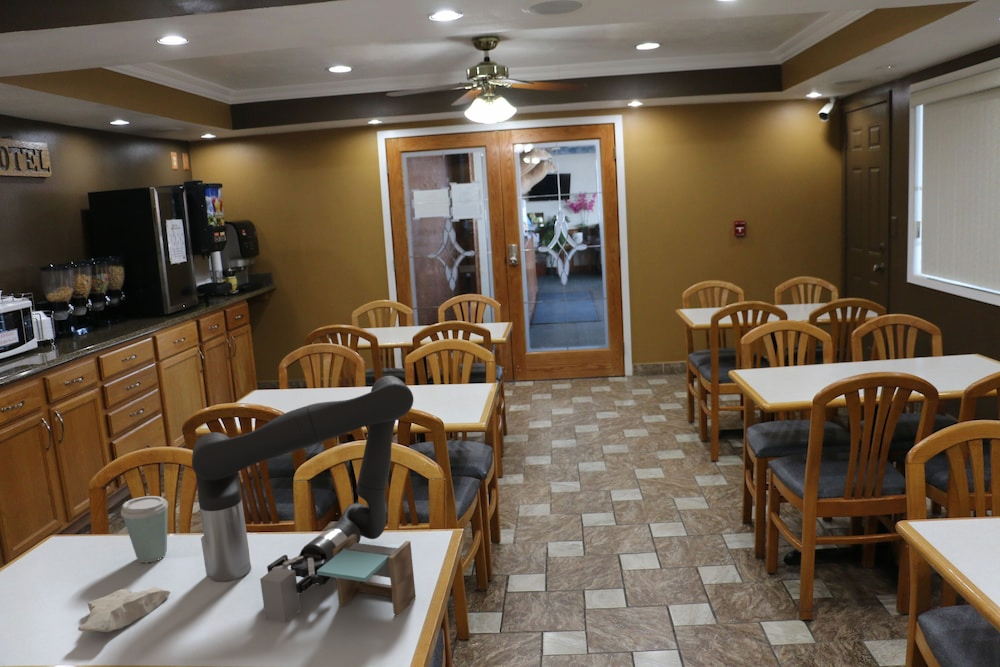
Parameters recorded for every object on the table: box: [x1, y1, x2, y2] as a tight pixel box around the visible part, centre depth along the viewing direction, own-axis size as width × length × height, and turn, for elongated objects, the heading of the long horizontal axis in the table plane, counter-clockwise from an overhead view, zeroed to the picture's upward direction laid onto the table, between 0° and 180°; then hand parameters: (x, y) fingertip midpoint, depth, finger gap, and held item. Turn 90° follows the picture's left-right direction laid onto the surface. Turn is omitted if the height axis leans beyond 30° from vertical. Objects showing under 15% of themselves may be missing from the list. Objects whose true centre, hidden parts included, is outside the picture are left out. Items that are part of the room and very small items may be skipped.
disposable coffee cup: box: [120, 495, 169, 564], centre depth 194 cm, size 11×11×15 cm
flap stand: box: [333, 534, 417, 616], centre depth 166 cm, size 8×14×13 cm, turn 68°
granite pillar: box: [260, 568, 301, 624], centre depth 164 cm, size 5×5×9 cm
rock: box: [77, 587, 171, 633], centre depth 168 cm, size 21×5×15 cm
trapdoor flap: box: [317, 542, 399, 582], centre depth 161 cm, size 14×11×6 cm
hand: (280, 586), depth 164 cm, fingers open, 8 cm apart
